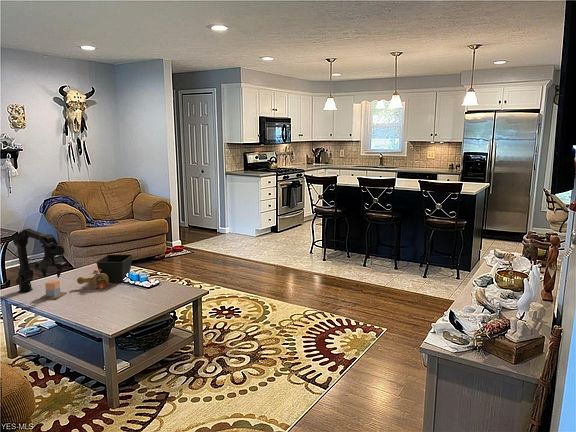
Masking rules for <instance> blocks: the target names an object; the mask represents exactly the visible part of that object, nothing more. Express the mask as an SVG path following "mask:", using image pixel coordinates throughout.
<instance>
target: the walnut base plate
mask: <svg viewBox="0 0 576 432" xmlns="http://www.w3.org/2000/svg"><path fill="white" fill-rule="evenodd" d="M60 292H61V293H60V294H59V295H57V296H55V297H50V296H46V294H44V295H42V296H41V297H39V300H50V299H53V300H54V301H55V300H56V301H57V300H58V299H60V298H61V297H62V298H63V296H65V295H67V291H60ZM53 300H52V301H53Z"/></svg>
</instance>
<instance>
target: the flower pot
mask: <svg viewBox="0 0 576 432" xmlns="http://www.w3.org/2000/svg"><path fill="white" fill-rule="evenodd" d="M132 261H133V254H107V255H105V256H103V257H102V258H100V259H99V260H97V261H95V263H96V267H97V271H98V270H100V271H99V273H104V274H106V275H107V276H108V278H109V281H108V282H109V284H115V283H116V284H118V283H119V284H121V283H123V282H124V281H123V279H124V276H125V275H126V274H127V273H129V274H130V273H131V272H130V271H131V268H132ZM101 269H102V270H101ZM122 281H123V282H122Z"/></svg>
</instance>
